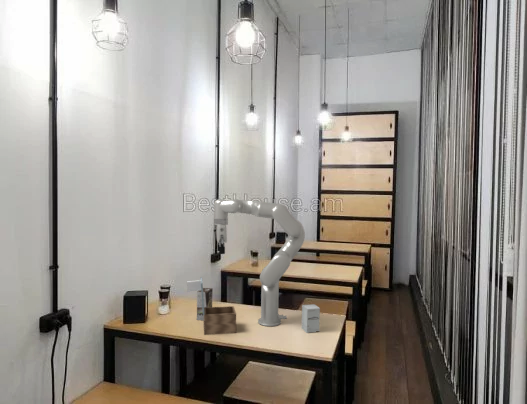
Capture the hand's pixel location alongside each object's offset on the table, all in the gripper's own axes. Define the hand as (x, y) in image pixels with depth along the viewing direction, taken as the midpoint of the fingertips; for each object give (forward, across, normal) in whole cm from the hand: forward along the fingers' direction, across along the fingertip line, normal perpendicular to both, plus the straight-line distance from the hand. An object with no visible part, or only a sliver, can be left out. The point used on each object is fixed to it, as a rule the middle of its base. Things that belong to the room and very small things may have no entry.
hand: (221, 252), depth 205 cm
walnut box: (+38, -14, +2) cm, 41 cm away
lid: (+20, -14, +11) cm, 27 cm away
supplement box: (+39, -23, -45) cm, 63 cm away
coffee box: (+38, +5, +9) cm, 39 cm away
